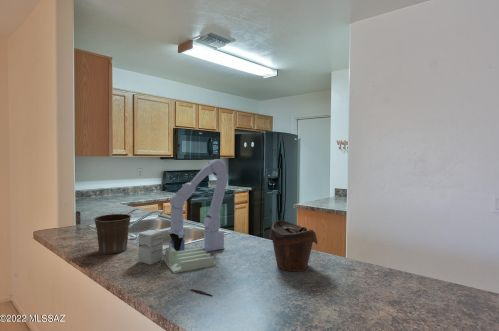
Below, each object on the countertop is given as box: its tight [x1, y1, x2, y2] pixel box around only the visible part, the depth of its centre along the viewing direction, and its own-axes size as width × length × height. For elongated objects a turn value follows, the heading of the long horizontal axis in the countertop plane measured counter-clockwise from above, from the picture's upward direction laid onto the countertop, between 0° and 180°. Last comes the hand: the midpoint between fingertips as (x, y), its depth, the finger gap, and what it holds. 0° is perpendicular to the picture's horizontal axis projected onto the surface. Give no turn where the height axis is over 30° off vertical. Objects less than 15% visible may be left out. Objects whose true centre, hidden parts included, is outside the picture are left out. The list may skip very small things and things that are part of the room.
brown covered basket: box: [269, 220, 318, 272], centre depth 121 cm, size 18×20×18 cm
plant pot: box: [93, 213, 132, 255], centre depth 139 cm, size 16×16×16 cm
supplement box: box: [137, 229, 164, 265], centre depth 125 cm, size 7×7×13 cm
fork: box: [173, 279, 214, 297], centre depth 98 cm, size 3×16×2 cm, turn 61°
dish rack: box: [162, 243, 217, 274], centre depth 124 cm, size 18×16×8 cm
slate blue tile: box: [168, 238, 186, 252], centre depth 137 cm, size 7×2×6 cm, turn 120°
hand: (176, 249), depth 137 cm, fingers closed on slate blue tile, 2 cm apart
